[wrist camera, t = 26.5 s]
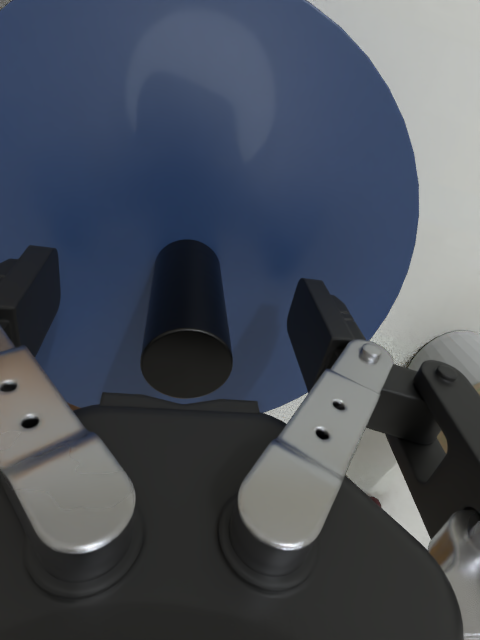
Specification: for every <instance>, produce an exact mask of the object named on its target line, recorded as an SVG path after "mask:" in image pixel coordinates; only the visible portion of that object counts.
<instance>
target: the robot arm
mask: <svg viewBox="0 0 480 640" xmlns="http://www.w3.org/2000/svg"><path fill="white" fill-rule="evenodd" d="M60 298H61V288H60V274H59V259H58V252H57V249H56V248H51V247H43V246H34V245H29V246H28V247H27V249H26V250H25V251H24V253H23V254H22V255H21V256H20V258H19V259H12V258H10V259H8V260H6V261H4V262H2V263H0V640H480V395H479V394H478V392H477V391H476V390H475V388H474V387H473V386H472V384H471V383H470V382H469V380H468V379H467V378H466V377H465V376H464V375H463V374H462V373H461V372H460V371H459V370H457V369H456V368H454V367H452V366H451V365H448V364H446V363H443V362H440V361H436V360H427V361H424V362H423V363H422V364H421V366H420V368H419V370H418V371H414V370H411V369H408V368H404V367H401V366H398V365H395V364H393V357H392V356H391V354H390V353H389V352H388V351H387V350H386V349H385V348H383V347H382V346H380V345H378V344H376V343H374V342H371V341H368V340H366V339H365V337H364V335H363V334H362V332H361V330H360V329H359V327H358V325H357V324H356V322H355V321H354V319H353V317H352V315H351V314H350V312H349V310H348V309H347V307H346V305H345V304H344V303H343V302H342V301H341V300H340V299H338V298H337V297H336V296H335V295H330V293H329V291H328V289H327V288H326V286H325V284H324V282H323V281H322V280H316V279H307V278H301V279H300V280H299V281H298V284H297V287H296V290H295V293H294V297H293V300H292V303H291V307H290V310H289V313H288V317H287V332H288V335H289V338H290V341H291V344H292V347H293V350H294V353H295V356H296V359H297V361H298V364H299V367H300V370H301V373H302V376H303V379H304V382H305V385H306V388H307V391H308V395H307V396H306V398H305V399H304V401H303V402H302V403H301V405H300V406H299V408H298V409H297V411H296V412H295V413H294V415H293V416H292V418H291V419H290V420H289V422H288V423H287V424H286V423H284V422H282V421H281V420H279V419H276V418H274V417H272V416H270V415H267V414H264V413H260V412H259V407H258V401H250V400H232V399H217V400H210V401H203V402H196V403H189V404H179V403H175V402H171V401H167V400H163V399H159V398H155V397H151V396H147V395H143V394H125V393H108V392H102V396H101V400H100V404H96V405H91V406H87V407H83V408H80V409H77V410H74V411H73V410H72V409H71V408H70V406H69V405H68V403H67V402H66V401H65V399H64V398H63V397H62V395H61V394H60V392H59V391H58V390H57V388H56V387H55V385H54V384H53V383H52V381H51V380H50V378H49V377H48V376H47V374H46V373H45V372H44V370H43V369H42V367H41V366H40V365H39V363H38V362H37V360H36V359H35V357H36V355H37V353H38V351H39V349H40V347H41V345H42V342H43V340H44V338H45V336H46V334H47V332H48V330H49V328H50V326H51V324H52V322H53V320H54V318H55V316H56V313H57V311H58V309H59V305H60ZM365 428H369V429H372V430H375V431H379V432H382V433H385V434H386V437H387V440H388V442H389V444H390V446H391V449H392V451H393V453H394V456H395V458H396V460H397V463H398V465H399V467H400V469H401V472H402V474H403V476H404V479H405V481H406V483H407V486H408V488H409V490H410V492H411V495H412V497H413V499H414V502H415V504H416V506H417V508H418V511H419V513H420V515H421V518H422V520H423V522H424V525H425V527H426V529H427V531H428V534H429V536H430V538H431V541H430V543H429V545H428V550H427V549H426V548H425V547H424V546H423V545H422V544H421V543H420V542H418V541H417V540H416V539H415V538H414V537H413V536H412V535H411V534H410V533H409V532H407V531H406V530H405V529H404V528H403V527H402V526H401V525H400V524H399V523H397V522H396V521H395V520H394V519H393V518H392V517H391V516H390V515H389V514H387V513H386V512H385V511H384V510H383V509H382V508H381V507H380V506H379V505H377V504H376V503H375V502H374V501H373V500H372V499H371V498H370V497H369V496H367V495H366V494H365V493H364V492H363V491H362V490H361V489H360V488H359V487H358V486H356V485H355V484H354V483H353V482H352V481H351V480H350V479H349V478H348V477H346V476H345V473H346V471H347V469H348V467H349V464H350V462H351V460H352V458H353V455H354V453H355V451H356V449H357V446H358V444H359V442H360V440H361V437H362V435H363V433H364V431H365ZM441 430H442V432H443V434H444V436H445V438H446V440H447V454H446V453H445V451H444V449H443V448H442V446H441V444H440V442H439V440H438V439H437V436H438V435H439V433H440V432H441Z"/></svg>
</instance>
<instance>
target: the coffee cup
mask: <svg viewBox="0 0 480 640" xmlns="http://www.w3.org/2000/svg"><path fill="white" fill-rule="evenodd" d="M427 360H436V361H440V362H443V363H446V364H448V365H451V366H452V367H454V368H456V369H457V370H459V371H460V372H461V373H462V374H463V375H464V376H465V377H466V378H467V379H468V380H469V382H470V383H471V384H472V386H473V387H474V388H475V390H476V391H477V392H478V394H479V395H480V334H479V333H475V332H472V331H454V332H450V333H446V334H444V335H441V336H439V337H437V338H435V339H434V340H432V341H430V342H429V343H428V344H427V345H425V346H424V347H423V348H422V349H421V350H420V351H419V352H418V353H417V354H416V356H415V357H414V358H413V360H412V361H411V363H410V365H409V367H408V369H411V370H414V371H418V370H419V368H420V366H421V364H422V363H423V362H424V361H427ZM437 439H438V440H439V442H440V444H441V446H442V448H443V449H444V451H445V453H446V454H447V440H446V438H445V436H444V434H443V432H442V430H441V432H440V433H439V435H438V436H437Z"/></svg>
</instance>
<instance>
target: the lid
mask: <svg viewBox="0 0 480 640" xmlns="http://www.w3.org/2000/svg"><path fill="white" fill-rule="evenodd" d="M418 217H419V184H418V177H417V171H416V164H415V157H414V152H413V148H412V145H411V142H410V138H409V135H408V132H407V128H406V125H405V122H404V119H403V117H402V115H401V113H400V110H399V108H398V106H397V104H396V102H395V100H394V98H393V96H392V93H391V91H390V89H389V87H388V86H387V84H386V83H385V81H384V80H383V78H382V77H381V75H380V74H379V72H378V71H377V69H376V68H375V66H374V65H373V63H372V62H371V60H370V59H369V57H368V56H367V55H366V54H365V53H364V52H363V51H362V50H361V49H360V47H359V46H358V45H357V44H356V43H355V42H354V41H353V40H352V39H351V38H350V37H349V35H348V34H347V33H346V32H345V31H344V30H343V29H342V28H341V27H340V26H339V25H337V24H336V23H335V22H334V21H332V20H331V19H330V18H329V17H327V16H326V15H325V14H324V13H322V12H321V11H320V10H319V9H317V8H316V7H315V6H314V5H312V4H311V3H310V2H308V1H307V0H12V1H10V2H9V3H8V4H7V5H6V6H5V7H3V8H2V9H1V10H0V263H2V262H4V261H6V260H8V259H10V258H12V259H19V258H20V256H21V255H22V254H23V253H24V251H25V250H26V249H27V247H28V246H29V245H34V246H43V247H51V248H56V249H57V252H58V259H59V274H60V288H61V298H60V305H59V309H58V311H57V313H56V316H55V318H54V320H53V322H52V324H51V326H50V328H49V330H48V332H47V334H46V336H45V338H44V340H43V342H42V345H41V347H40V349H39V351H38V353H37V355H36V357H35V359H36V360H37V362H38V363H39V365H40V366H41V367H42V369H43V370H44V372H45V373H46V374H47V376H48V377H49V378H50V380H51V381H52V383H53V384H54V385H55V387H56V388H57V390H58V391H59V392H60V394H61V395H62V397H63V398H64V399H65V401H66V402H68V403H70V404H72V405H74V406H77V407H80V408H83V407H87V406H91V405H96V404H100V400H101V396H102V392H108V393H125V394H143V395H147V396H151V397H155V398H159V399H163V400H167V401H171V402H175V403H179V404H189V403H196V402H203V401H210V400H217V399H232V400H250V401H258V407H259V412H260V413H264V412H267V411H269V410H272V409H275V408H278V407H280V406H282V405H284V404H286V403H288V402H290V401H293V400H295V399H297V398H299V397H301V396H302V395H304V394H306V393H307V392H308V391H307V388H306V385H305V382H304V379H303V376H302V373H301V370H300V367H299V364H298V361H297V359H296V356H295V353H294V350H293V347H292V344H291V341H290V338H289V335H288V332H287V317H288V313H289V310H290V307H291V303H292V300H293V297H294V293H295V290H296V287H297V284H298V281H299V280H300V279H301V278H307V279H316V280H322V281H323V282H324V284H325V286H326V288H327V289H328V291H329V293H330V295H335V296H336V297H337V298H338V299H340V300H341V301H342V302H343V303H344V304H345V305H346V307H347V309H348V310H349V312H350V314H351V315H352V317H353V319H354V321H355V322H356V324H357V325H358V327H359V329H360V330H361V332H362V334H363V335H364V337H365V339H366V340H368V341H369V340H370V339H371V338H372V336H373V335H374V334H375V332H376V331H377V329H378V328H379V326H380V325H381V324H382V322H383V321H384V319H385V318H386V316H387V315H388V313H389V311H390V309H391V307H392V305H393V304H394V302H395V300H396V298H397V296H398V294H399V292H400V289H401V287H402V284H403V282H404V279H405V277H406V274H407V272H408V269H409V265H410V261H411V258H412V254H413V250H414V246H415V241H416V233H417V225H418Z"/></svg>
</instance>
